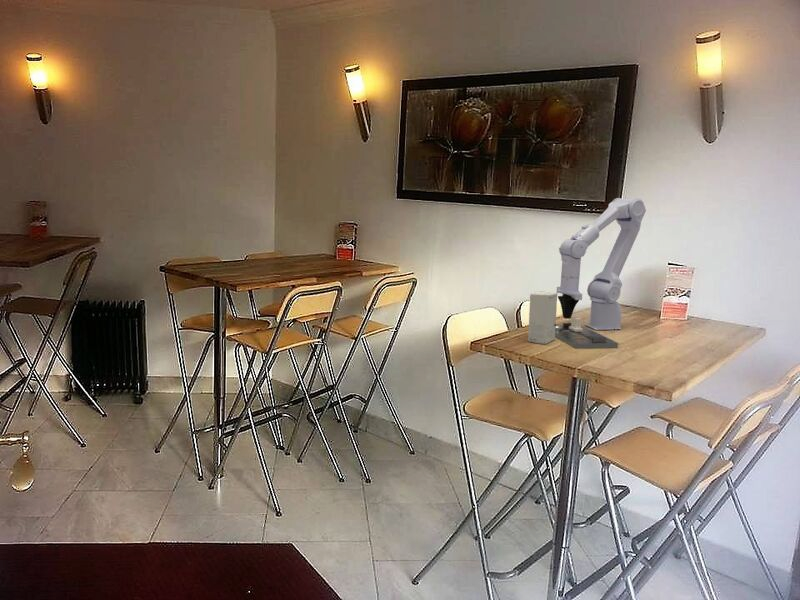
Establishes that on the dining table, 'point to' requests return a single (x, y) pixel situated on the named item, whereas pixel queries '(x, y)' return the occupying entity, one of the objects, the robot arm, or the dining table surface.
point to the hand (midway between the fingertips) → (566, 318)
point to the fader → (576, 324)
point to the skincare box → (542, 317)
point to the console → (583, 338)
